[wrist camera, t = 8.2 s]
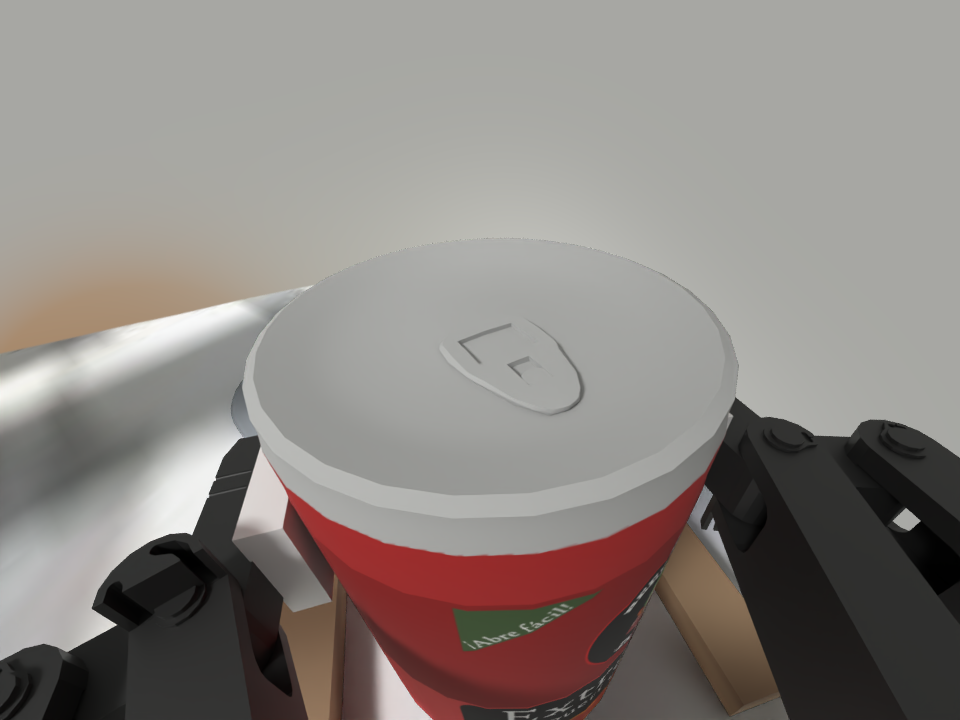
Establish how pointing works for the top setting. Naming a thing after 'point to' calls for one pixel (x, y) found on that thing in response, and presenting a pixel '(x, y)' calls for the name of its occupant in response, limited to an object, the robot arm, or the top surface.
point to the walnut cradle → (682, 588)
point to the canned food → (495, 457)
